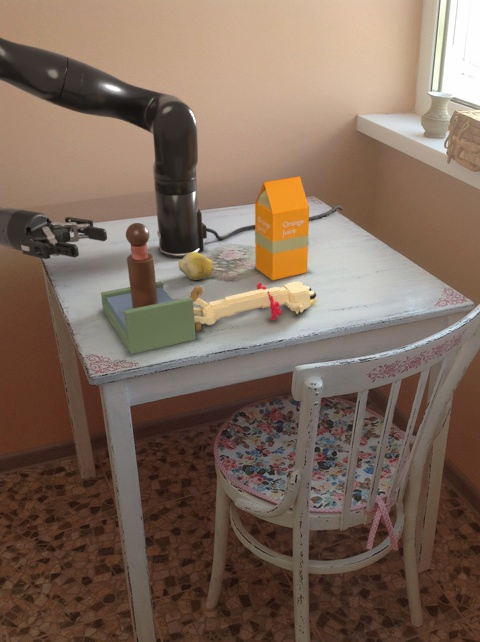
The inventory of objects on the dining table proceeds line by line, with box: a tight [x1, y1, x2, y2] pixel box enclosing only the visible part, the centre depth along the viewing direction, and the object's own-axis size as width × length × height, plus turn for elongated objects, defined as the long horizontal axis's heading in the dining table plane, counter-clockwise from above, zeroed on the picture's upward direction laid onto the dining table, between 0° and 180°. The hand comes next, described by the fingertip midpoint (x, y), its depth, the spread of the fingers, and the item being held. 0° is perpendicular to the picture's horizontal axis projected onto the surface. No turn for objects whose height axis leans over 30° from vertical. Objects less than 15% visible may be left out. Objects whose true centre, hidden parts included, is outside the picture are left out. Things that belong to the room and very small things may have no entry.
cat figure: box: [189, 280, 319, 332], centre depth 132 cm, size 10×9×25 cm
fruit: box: [177, 252, 225, 281], centre depth 148 cm, size 6×6×10 cm
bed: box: [100, 281, 197, 355], centre depth 129 cm, size 12×18×8 cm, turn 27°
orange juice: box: [254, 175, 310, 281], centre depth 148 cm, size 8×9×20 cm
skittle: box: [125, 222, 158, 309], centre depth 124 cm, size 5×5×16 cm
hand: (91, 243), depth 126 cm, fingers open, 8 cm apart
